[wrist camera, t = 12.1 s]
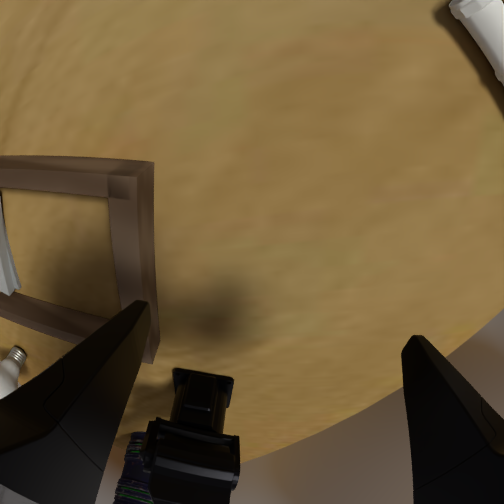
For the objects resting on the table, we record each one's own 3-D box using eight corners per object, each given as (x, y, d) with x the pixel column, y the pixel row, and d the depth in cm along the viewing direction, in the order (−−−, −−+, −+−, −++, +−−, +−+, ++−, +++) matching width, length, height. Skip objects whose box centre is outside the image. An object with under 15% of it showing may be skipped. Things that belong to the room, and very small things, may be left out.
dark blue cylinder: (121, 435, 46) (102, 503, 33) (146, 427, 42) (126, 507, 29) (165, 455, 49) (152, 519, 37) (195, 449, 45) (182, 524, 33)
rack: (160, 340, 28) (152, 364, 26) (7, 297, 28) (-5, 314, 25) (154, 162, 19) (136, 177, 16) (-30, 156, 18) (-51, 168, 16)
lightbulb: (28, 366, 36) (0, 420, 27) (0, 338, 33) (-32, 391, 24) (44, 361, 34) (13, 422, 25) (13, 331, 31) (-24, 390, 22)
